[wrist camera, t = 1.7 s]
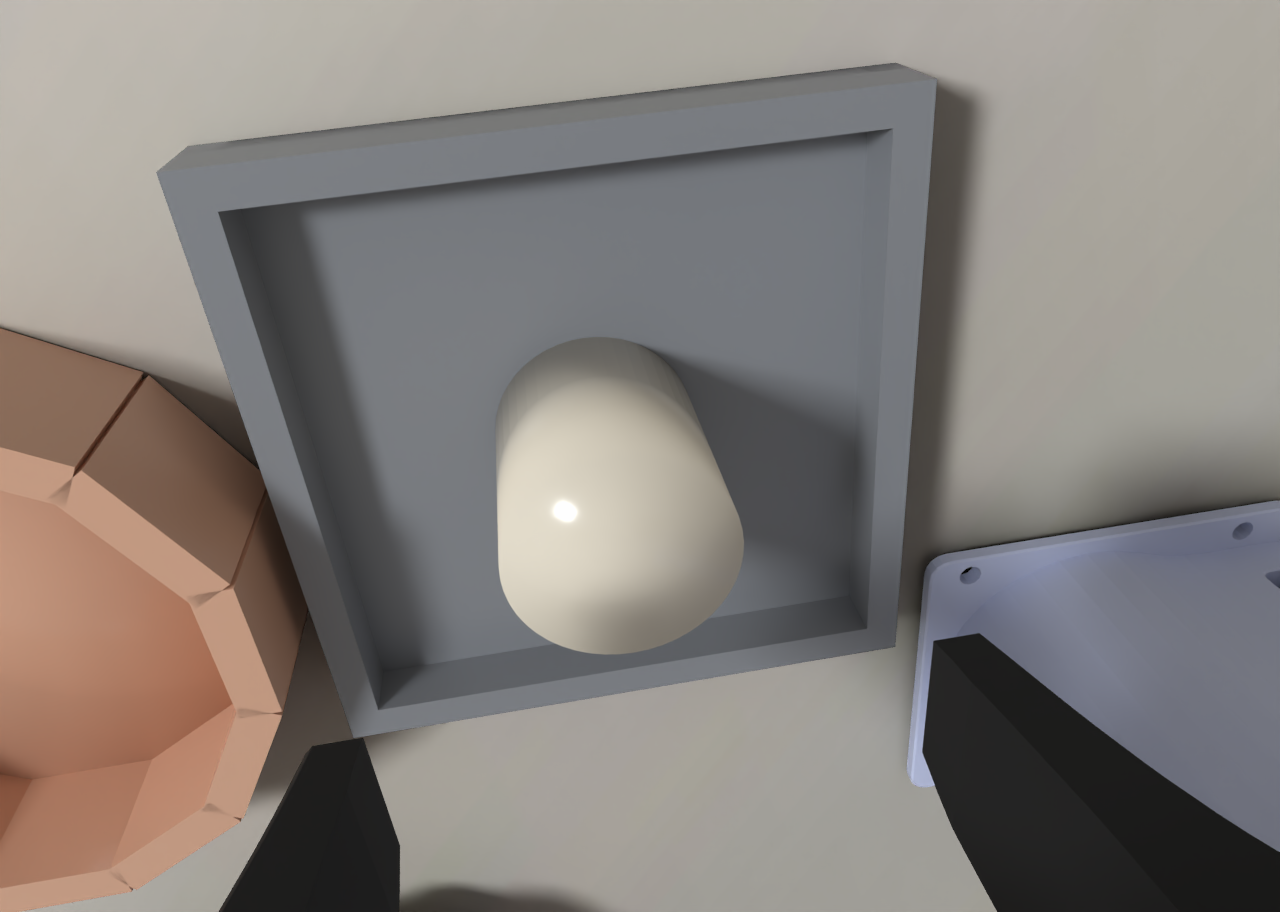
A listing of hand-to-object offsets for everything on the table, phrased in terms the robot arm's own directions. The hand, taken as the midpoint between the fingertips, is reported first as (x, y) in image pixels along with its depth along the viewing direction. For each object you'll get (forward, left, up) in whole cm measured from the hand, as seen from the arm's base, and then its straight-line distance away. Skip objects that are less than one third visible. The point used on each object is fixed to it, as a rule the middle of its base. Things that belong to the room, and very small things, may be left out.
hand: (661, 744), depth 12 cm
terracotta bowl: (+12, +2, -9) cm, 16 cm away
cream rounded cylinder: (0, 0, -8) cm, 8 cm away
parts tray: (0, 0, -9) cm, 9 cm away
